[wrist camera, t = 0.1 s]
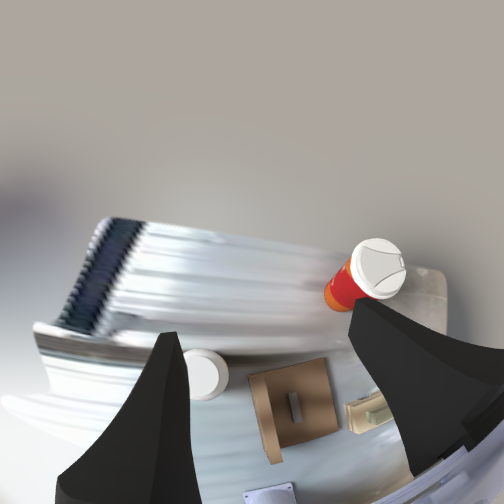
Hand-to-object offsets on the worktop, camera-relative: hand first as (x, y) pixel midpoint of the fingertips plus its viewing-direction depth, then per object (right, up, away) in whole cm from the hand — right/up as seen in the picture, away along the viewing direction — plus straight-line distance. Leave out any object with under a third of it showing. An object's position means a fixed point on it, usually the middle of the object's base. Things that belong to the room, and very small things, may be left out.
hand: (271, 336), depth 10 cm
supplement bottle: (-8, -15, +28) cm, 33 cm away
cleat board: (+6, -20, +27) cm, 34 cm away
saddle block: (+18, -23, +27) cm, 40 cm away
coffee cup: (+14, -4, +35) cm, 38 cm away
